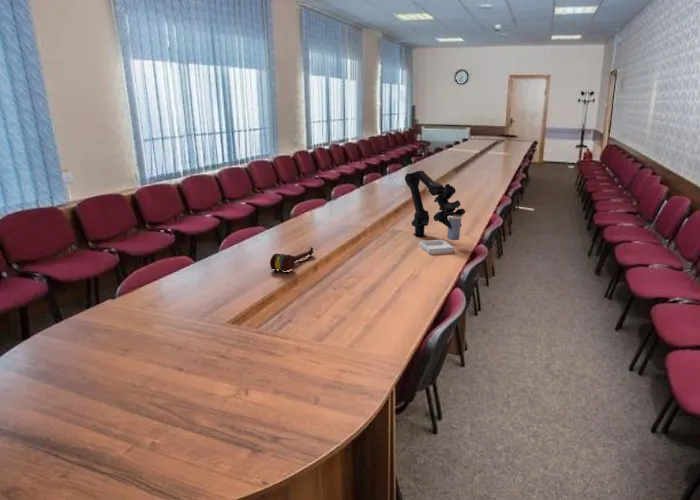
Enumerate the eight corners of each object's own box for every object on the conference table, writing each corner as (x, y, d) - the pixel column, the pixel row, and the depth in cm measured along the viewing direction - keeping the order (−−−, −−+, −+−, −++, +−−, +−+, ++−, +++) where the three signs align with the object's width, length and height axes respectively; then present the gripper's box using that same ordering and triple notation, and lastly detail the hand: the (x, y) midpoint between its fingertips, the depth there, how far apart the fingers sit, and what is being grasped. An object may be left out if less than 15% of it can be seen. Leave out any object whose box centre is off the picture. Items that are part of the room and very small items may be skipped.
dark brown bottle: (303, 259, 261) (319, 261, 257) (266, 273, 231) (283, 276, 226) (303, 241, 259) (319, 243, 255) (265, 253, 229) (283, 255, 224)
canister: (446, 236, 270) (447, 214, 266) (458, 236, 270) (460, 214, 266) (448, 240, 264) (449, 217, 260) (460, 240, 264) (462, 217, 260)
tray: (419, 246, 273) (419, 241, 272) (442, 244, 276) (442, 239, 275) (429, 254, 258) (429, 249, 257) (453, 252, 261) (454, 247, 260)
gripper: (437, 197, 259) (449, 221, 253) (464, 194, 267) (476, 217, 261) (428, 209, 268) (439, 232, 262) (454, 205, 276) (466, 228, 270)
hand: (455, 227), depth 264 cm, fingers closed on canister, 7 cm apart
